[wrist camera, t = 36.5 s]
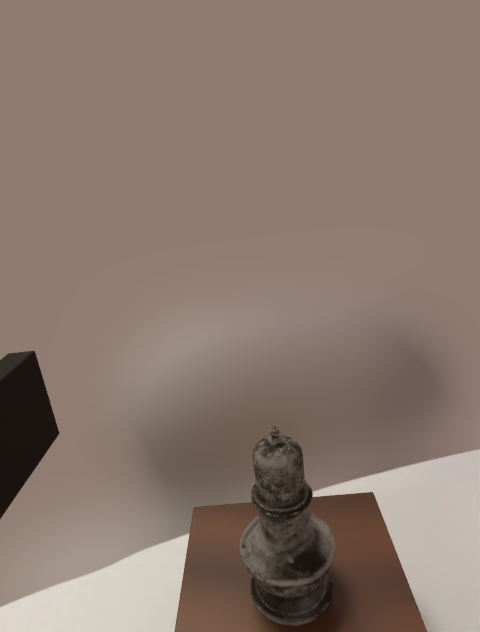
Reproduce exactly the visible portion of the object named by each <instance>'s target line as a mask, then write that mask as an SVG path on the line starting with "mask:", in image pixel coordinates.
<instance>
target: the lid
mask: <svg viewBox="0 0 480 632" xmlns="http://www.w3.org/2000/svg"><path fill="white" fill-rule="evenodd" d="M308 511H309V512H311V513H313V514H314V515H316V516H317V517H319V518H321V519H322V520H323V521H324V522H325V523H326V524H327V526H328V527H329V529H330V531H331V532H332V534H333V537H334V542H335V553H334V558H333V561H332V563H331V565H330V567H329V568H328V572H329V574H330V576H331V579H332V585H333V592H332V599H331V601H330V603H329V606H328V608H327V609H326V610H325V611H324V613H323V614H322V615H321V616H320V617H318V618H317V619H315V620H314V621H312V622H310V623H307V624H304V625H301V626H285V625H281V624H277V623H275V622H273V621H271V620H269V619H267V618H266V617H265V616H264V615H263V614H262V613H261V612H259V610H258V609H257V607H256V605H255V604H254V602H253V599H252V595H251V578H252V574H251V573H250V572H249V571H248V570H247V568H246V567H245V565H244V564H243V562H242V558H241V554H240V540H241V537H242V534H243V532H244V530H245V529H246V527H247V526H248V525H249V523H250V522H251V521H253V520H254V519H255V518H256V517H257V516H259V514H258V509H257V508H256V507H255V506H254V505H253V502H250V503H239V504H227V505H215V506H203V507H194V509H193V516H192V522H191V529H190V535H189V542H188V548H187V555H186V561H185V568H184V574H183V581H182V587H181V594H180V600H179V607H178V613H177V620H176V626H175V632H427V630H426V628H425V625H424V623H423V620H422V617H421V615H420V612H419V610H418V607H417V605H416V602H415V599H414V597H413V594H412V592H411V589H410V586H409V584H408V581H407V579H406V576H405V574H404V571H403V568H402V566H401V563H400V561H399V558H398V555H397V553H396V550H395V548H394V545H393V543H392V540H391V537H390V535H389V532H388V530H387V527H386V525H385V522H384V519H383V517H382V514H381V512H380V509H379V506H378V504H377V501H376V499H375V496H374V494H373V492H369V493H357V494H346V495H334V496H322V497H312V500H311V502H310V504H309V506H308Z"/></svg>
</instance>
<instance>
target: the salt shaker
mask: <svg viewBox="0 0 480 632" xmlns="http://www.w3.org/2000/svg"><path fill="white" fill-rule="evenodd" d="M269 434H270V435H269V436H266V437H263V438H262V439H260V440H259V441H258V442H257V444H256V445H255V447H254V449H253V465H254V472H255V481H256V484H255V485H254V486H253V489H252V491H251V499H252V502H253V505H254V506H255V507H256V508H257V509H258V514H259V516H257V517H256V518H255V519H254V520H253V521H251V522H250V523H249V525H248V526H247V527H246V529H245V530H244V532H243V534H242V537H241V540H240V554H241V558H242V562H243V564H244V565H245V567H246V568H247V570H248V571H249V572H250V573H251V574H252V578H251V595H252V599H253V602H254V604H255V605H256V607H257V609H258V610H259V612H261V613H262V614H263V615H264V616H265V617H266V618H267V619H269V620H271V621H273V622H275V623H277V624H281V625H285V626H301V625H304V624H307V623H310V622H312V621H314V620H315V619H317V618H318V617H320V616H321V615H322V614H323V613H324V611H325V610H326V609H327V608H328V606H329V603H330V601H331V599H332V592H333V585H332V579H331V576H330V574H329V572H328V568H329V567H330V565H331V563H332V561H333V558H334V553H335V542H334V537H333V534H332V532H331V531H330V529H329V527H328V526H327V524H326V523H325V522H324V521H323V520H322V519H321V518H319V517H317V516H316V515H314V514H313V513H311V512H309V511H308V506H309V504H310V502H311V500H312V489H311V487H310V485H309V483H308V482H307V481H306V480H305V479H304V466H303V454H302V450H301V447H300V445H299V444H298V443H297V442H296V441H295V440H294V439H293V438H291V437H289V436H287V435H282V434H281V431H280V430H279V429H278V428H277V427H276V426H273V428H271V430H270V431H269Z"/></svg>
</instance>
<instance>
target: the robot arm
mask: <svg viewBox="0 0 480 632" xmlns="http://www.w3.org/2000/svg"><path fill="white" fill-rule="evenodd" d="M58 435H59V431H58V428H57V424H56V421H55V417H54V414H53V411H52V407H51V404H50V401H49V397H48V394H47V391H46V387H45V384H44V381H43V377H42V374H41V371H40V367H39V364H38V360H37V357H36V354H35V351H29V352H19V353H10V354H7V355H6V356H5V357H4V358H2V359H1V360H0V518H1V517H2V516H3V514H4V513H5V511H6V510H7V508H8V507H9V506H10V504H11V502H12V501H13V499H14V498H15V497H16V495H17V494H18V492H19V491H20V490H21V488H22V487H23V485H24V484H25V482H26V481H27V479H28V478H29V477H30V475H31V474H32V472H33V471H34V469H35V468H36V466H37V465H38V463H39V462H40V461H41V459H42V458H43V456H44V455H45V453H46V452H47V450H48V449H49V448H50V446H51V445H52V443H53V442H54V440H55V439H56V438H57V436H58Z"/></svg>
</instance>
